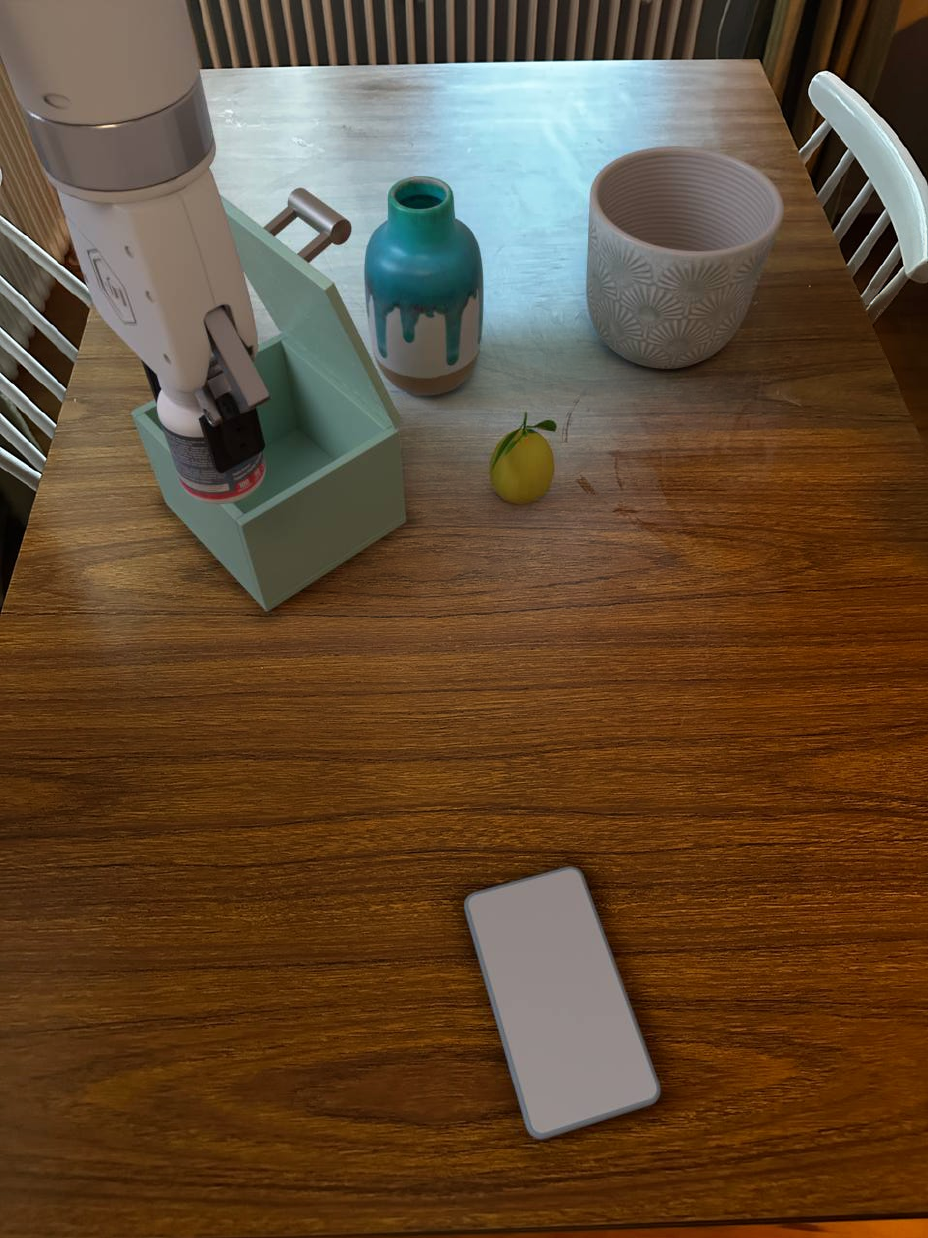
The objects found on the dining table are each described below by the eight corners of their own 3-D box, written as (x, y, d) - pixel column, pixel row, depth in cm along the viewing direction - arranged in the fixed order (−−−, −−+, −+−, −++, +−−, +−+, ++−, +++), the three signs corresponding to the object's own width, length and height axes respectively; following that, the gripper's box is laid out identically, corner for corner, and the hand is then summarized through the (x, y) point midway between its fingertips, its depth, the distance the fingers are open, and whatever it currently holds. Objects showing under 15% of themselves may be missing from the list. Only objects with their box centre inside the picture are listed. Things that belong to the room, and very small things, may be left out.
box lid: (324, 290, 59) (390, 232, 60) (190, 184, 66) (250, 133, 67) (395, 429, 73) (448, 381, 74) (278, 330, 80) (327, 287, 80)
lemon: (487, 529, 82) (490, 445, 74) (476, 479, 85) (477, 394, 77) (563, 519, 83) (574, 435, 74) (549, 470, 86) (558, 385, 78)
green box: (266, 612, 77) (241, 525, 68) (165, 503, 84) (130, 411, 75) (406, 521, 82) (399, 430, 74) (301, 425, 89) (283, 331, 80)
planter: (549, 303, 99) (561, 162, 87) (696, 272, 102) (729, 131, 90) (613, 410, 90) (637, 271, 78) (773, 373, 93) (821, 233, 81)
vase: (382, 421, 89) (365, 238, 74) (366, 348, 95) (346, 164, 79) (492, 405, 91) (498, 222, 75) (469, 334, 96) (470, 150, 81)
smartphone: (579, 862, 64) (666, 1099, 56) (578, 867, 65) (663, 1102, 56) (460, 895, 63) (530, 1143, 54) (460, 900, 64) (529, 1145, 55)
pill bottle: (251, 513, 57) (220, 400, 50) (169, 500, 58) (127, 388, 51) (277, 450, 60) (252, 336, 53) (199, 439, 61) (163, 325, 54)
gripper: (-44, 76, 44) (85, 383, 58) (143, 248, 36) (236, 549, 51) (104, 26, 46) (191, 331, 61) (306, 177, 39) (349, 482, 54)
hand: (211, 428), depth 56 cm, fingers closed on pill bottle, 5 cm apart
